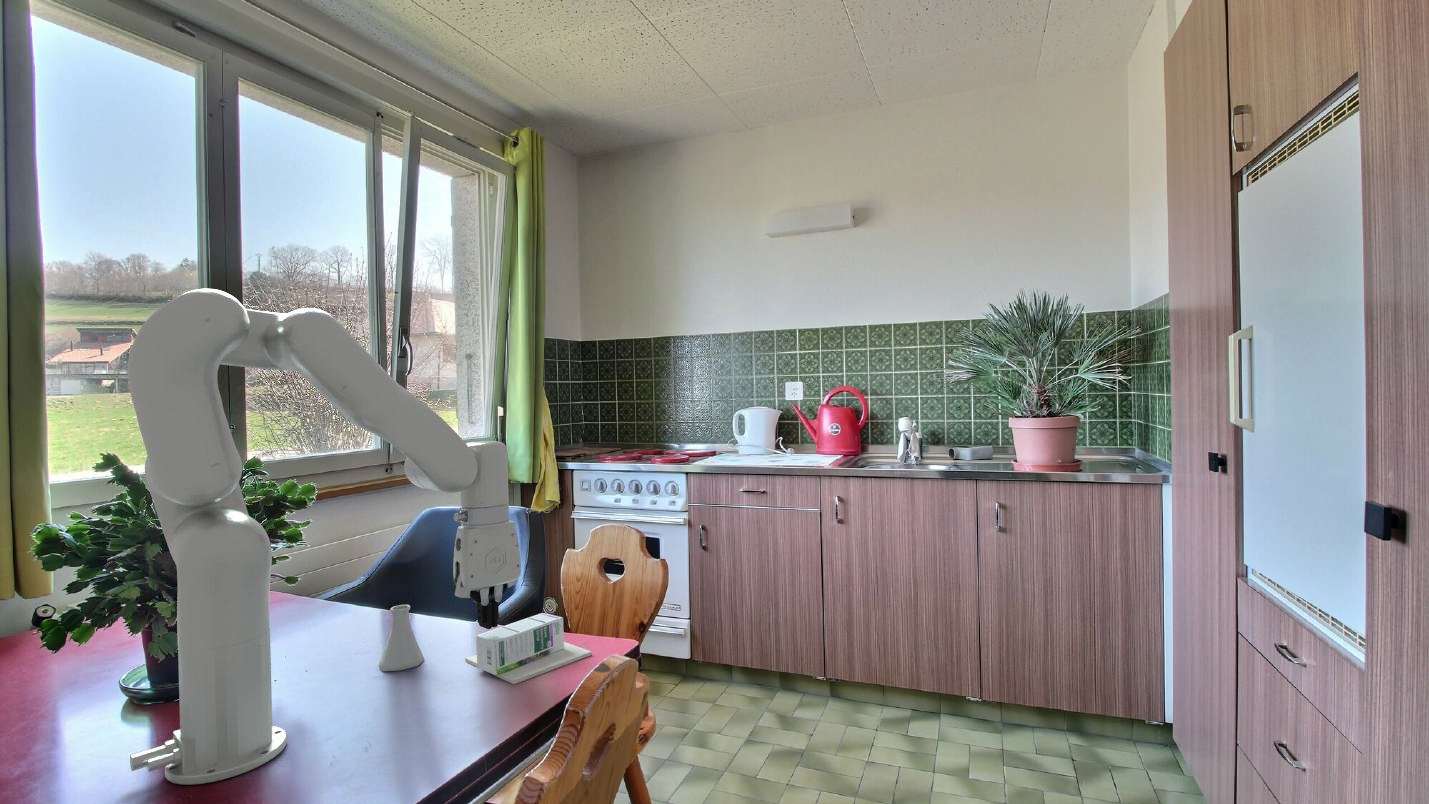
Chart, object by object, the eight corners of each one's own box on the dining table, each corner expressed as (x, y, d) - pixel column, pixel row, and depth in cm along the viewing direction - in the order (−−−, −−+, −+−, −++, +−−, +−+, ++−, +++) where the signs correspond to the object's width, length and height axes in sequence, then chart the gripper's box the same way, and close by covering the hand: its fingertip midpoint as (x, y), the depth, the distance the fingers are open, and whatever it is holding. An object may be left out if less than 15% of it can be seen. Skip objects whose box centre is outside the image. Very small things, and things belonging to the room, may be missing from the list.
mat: (513, 684, 105) (513, 680, 105) (465, 661, 115) (465, 658, 115) (591, 654, 117) (591, 651, 117) (541, 636, 127) (540, 633, 127)
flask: (423, 668, 113) (421, 610, 113) (376, 675, 110) (374, 616, 110) (425, 653, 120) (423, 599, 120) (380, 660, 117) (379, 604, 117)
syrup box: (494, 640, 107) (565, 617, 119) (474, 634, 111) (544, 611, 122) (496, 676, 107) (566, 648, 118) (475, 668, 111) (545, 642, 122)
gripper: (453, 525, 101) (456, 644, 101) (537, 511, 112) (540, 619, 112) (430, 520, 106) (433, 634, 106) (513, 507, 117) (515, 610, 117)
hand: (488, 626), depth 109 cm, fingers closed
